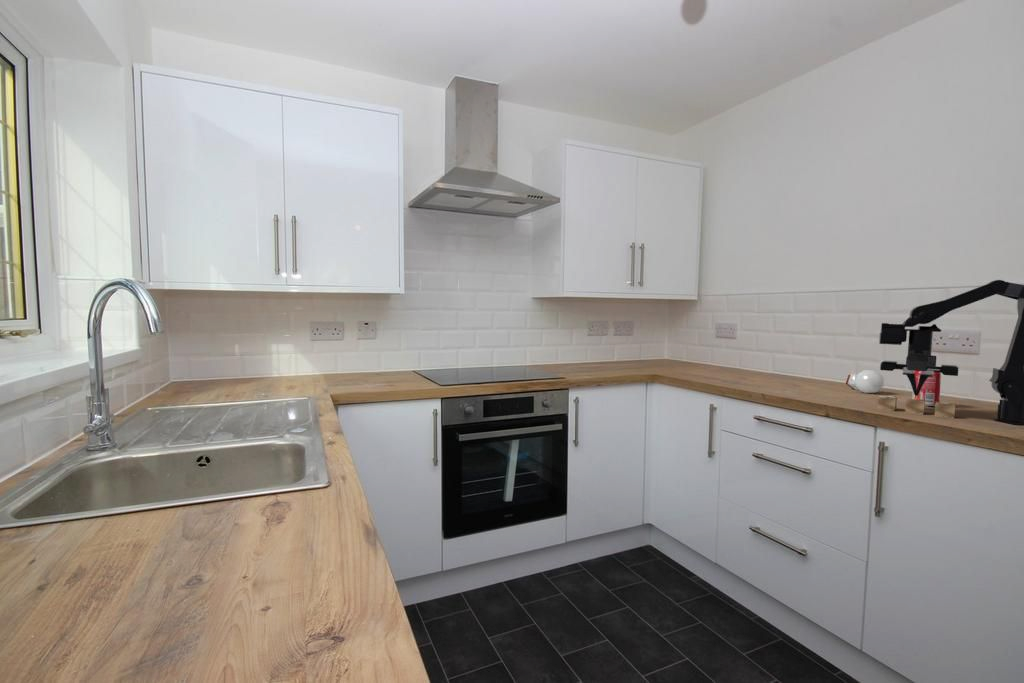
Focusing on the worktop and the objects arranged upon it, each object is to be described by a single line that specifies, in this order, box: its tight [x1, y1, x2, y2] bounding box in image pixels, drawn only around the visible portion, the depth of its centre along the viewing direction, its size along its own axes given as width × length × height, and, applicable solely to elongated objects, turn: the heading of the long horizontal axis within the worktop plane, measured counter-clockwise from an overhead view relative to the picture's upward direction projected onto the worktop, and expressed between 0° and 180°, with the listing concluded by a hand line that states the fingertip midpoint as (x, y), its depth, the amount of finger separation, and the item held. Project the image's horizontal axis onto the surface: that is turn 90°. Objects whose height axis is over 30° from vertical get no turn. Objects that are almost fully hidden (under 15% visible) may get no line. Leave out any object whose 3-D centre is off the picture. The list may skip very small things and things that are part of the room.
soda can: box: [911, 371, 942, 406], centre depth 169 cm, size 7×7×13 cm
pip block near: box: [934, 401, 956, 419], centre depth 152 cm, size 4×4×4 cm
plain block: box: [904, 398, 926, 414], centre depth 156 cm, size 4×4×4 cm
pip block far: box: [877, 395, 898, 411], centre depth 161 cm, size 4×4×4 cm
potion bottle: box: [845, 369, 885, 394], centre depth 199 cm, size 9×10×15 cm
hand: (916, 395), depth 156 cm, fingers closed
